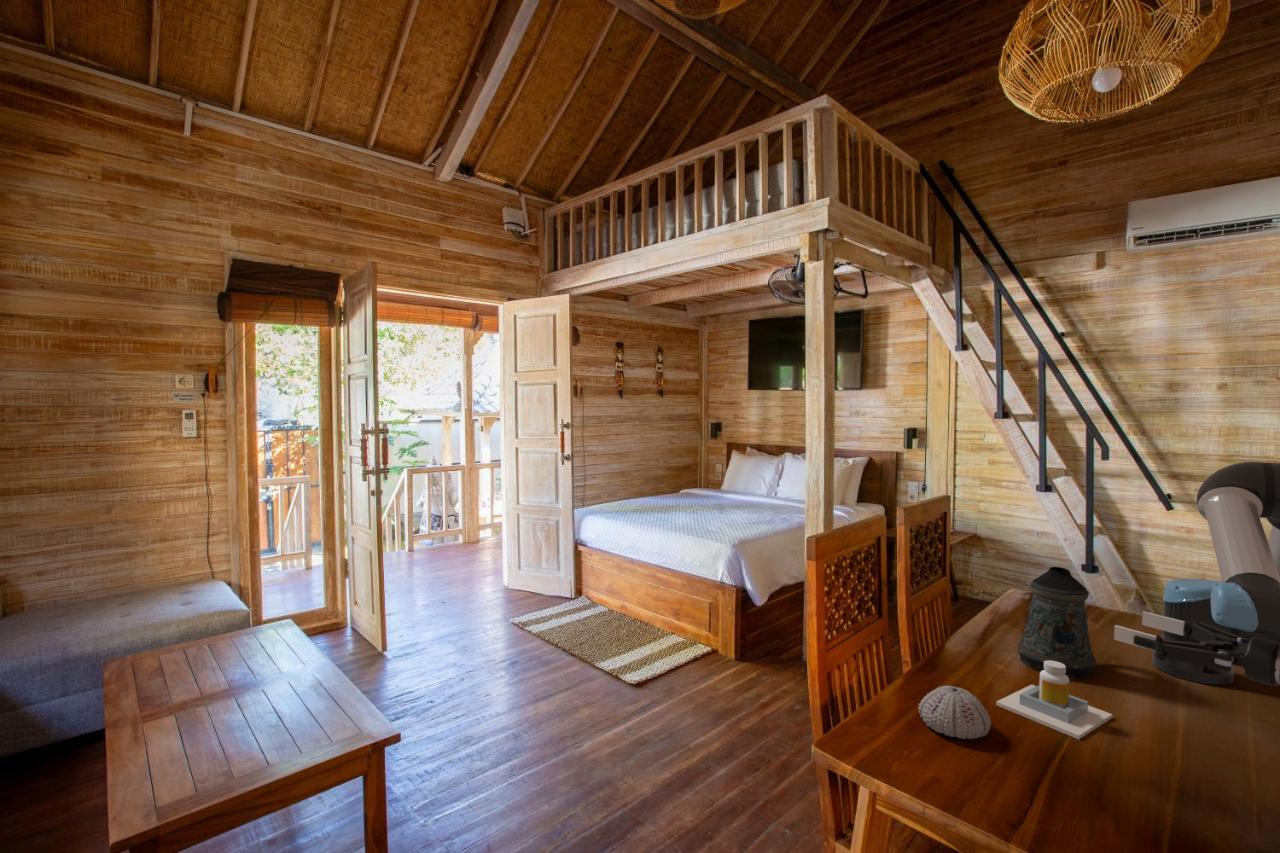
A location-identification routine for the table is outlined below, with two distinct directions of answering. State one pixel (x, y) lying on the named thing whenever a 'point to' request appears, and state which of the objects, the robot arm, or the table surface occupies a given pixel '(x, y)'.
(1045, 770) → the table surface
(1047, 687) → the supplement bottle
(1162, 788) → the table surface
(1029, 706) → the socket
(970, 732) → the sea urchin shell
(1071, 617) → the beer stein
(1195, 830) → the table surface
